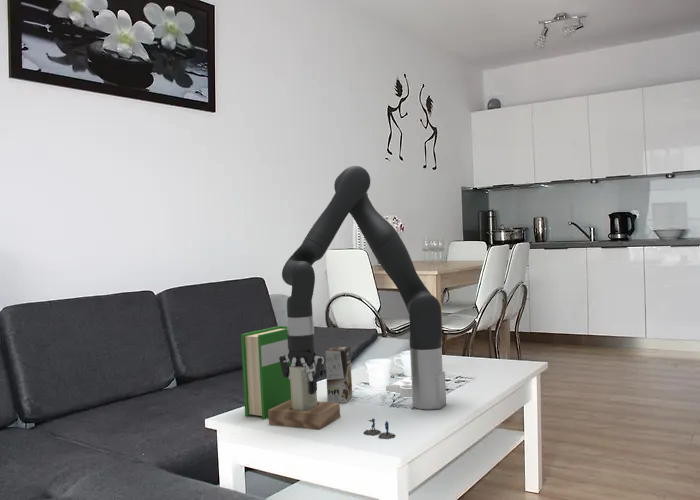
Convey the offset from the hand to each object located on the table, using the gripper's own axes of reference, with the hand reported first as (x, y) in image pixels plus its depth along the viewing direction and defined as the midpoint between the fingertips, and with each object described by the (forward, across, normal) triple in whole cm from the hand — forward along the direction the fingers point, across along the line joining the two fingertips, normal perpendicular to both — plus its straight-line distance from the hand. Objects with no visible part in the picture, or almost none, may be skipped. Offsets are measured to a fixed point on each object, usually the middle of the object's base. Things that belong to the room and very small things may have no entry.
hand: (303, 392), depth 174 cm
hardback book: (+8, +15, -7) cm, 18 cm away
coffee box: (+8, +1, -24) cm, 25 cm away
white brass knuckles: (+8, -18, -40) cm, 44 cm away
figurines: (+8, -25, +5) cm, 27 cm away
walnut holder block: (+8, 0, 0) cm, 8 cm away
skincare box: (+5, 0, 0) cm, 5 cm away
